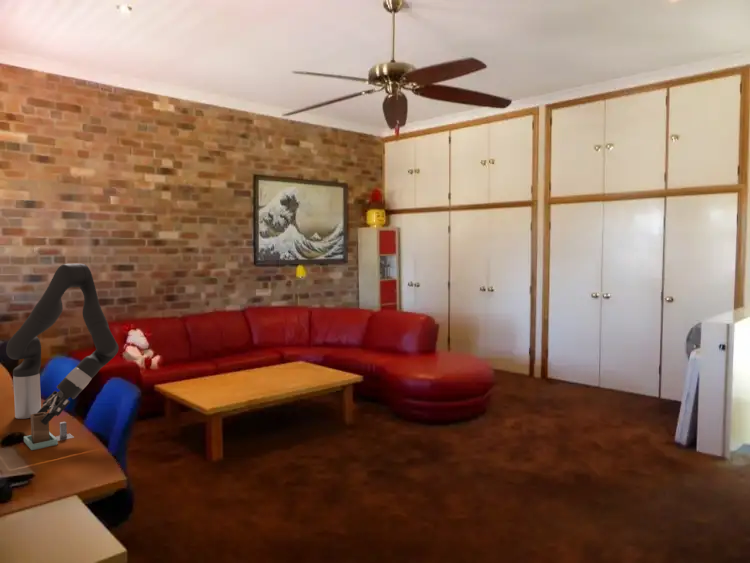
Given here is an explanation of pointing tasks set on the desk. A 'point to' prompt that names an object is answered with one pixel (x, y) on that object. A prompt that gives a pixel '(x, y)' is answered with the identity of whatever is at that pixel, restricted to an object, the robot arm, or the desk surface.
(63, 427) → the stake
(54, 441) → the tray
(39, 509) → the desk surface
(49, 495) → the desk surface
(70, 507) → the desk surface
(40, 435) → the brown rectangular box
